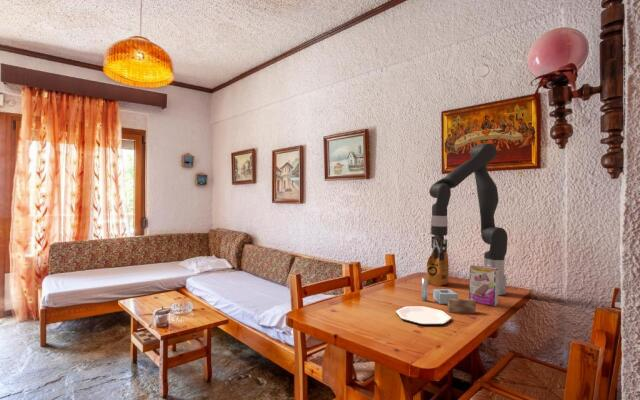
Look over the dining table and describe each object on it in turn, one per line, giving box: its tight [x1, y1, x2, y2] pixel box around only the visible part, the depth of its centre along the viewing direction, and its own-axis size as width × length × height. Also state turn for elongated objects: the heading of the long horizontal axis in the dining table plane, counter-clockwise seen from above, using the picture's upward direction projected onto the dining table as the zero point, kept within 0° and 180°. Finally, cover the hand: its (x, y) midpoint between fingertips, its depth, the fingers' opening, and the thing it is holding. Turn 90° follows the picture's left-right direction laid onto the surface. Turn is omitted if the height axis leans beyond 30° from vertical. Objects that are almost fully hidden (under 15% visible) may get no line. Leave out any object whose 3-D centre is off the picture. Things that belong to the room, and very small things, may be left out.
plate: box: [395, 305, 452, 326], centre depth 135 cm, size 20×20×2 cm
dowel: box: [421, 277, 429, 302], centre depth 157 cm, size 3×3×10 cm
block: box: [432, 288, 459, 305], centre depth 156 cm, size 8×8×4 cm
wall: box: [447, 298, 477, 314], centre depth 143 cm, size 11×2×5 cm, turn 92°
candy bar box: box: [468, 264, 499, 307], centre depth 155 cm, size 11×5×16 cm, turn 47°
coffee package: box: [425, 249, 450, 287], centre depth 190 cm, size 10×12×22 cm
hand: (438, 259), depth 165 cm, fingers open, 7 cm apart
